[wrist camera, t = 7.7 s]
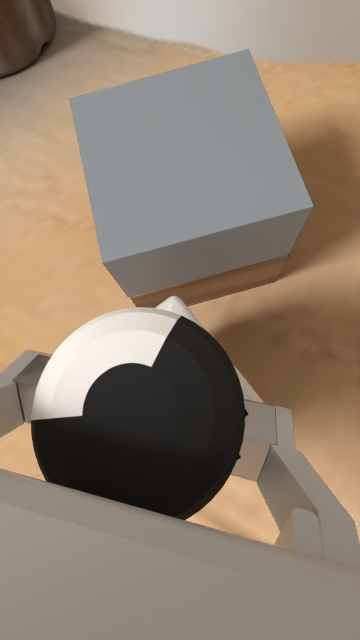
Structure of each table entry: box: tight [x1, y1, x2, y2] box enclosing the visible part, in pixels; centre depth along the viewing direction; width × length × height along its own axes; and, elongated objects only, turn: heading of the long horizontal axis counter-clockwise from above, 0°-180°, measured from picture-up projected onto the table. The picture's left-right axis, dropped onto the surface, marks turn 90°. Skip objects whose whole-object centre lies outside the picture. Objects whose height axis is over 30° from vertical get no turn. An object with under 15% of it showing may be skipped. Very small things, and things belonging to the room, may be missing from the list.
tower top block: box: [70, 49, 314, 297], centre depth 19 cm, size 10×10×5 cm
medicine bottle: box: [31, 296, 264, 520], centre depth 14 cm, size 7×7×12 cm
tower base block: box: [130, 252, 290, 308], centre depth 24 cm, size 10×10×5 cm
